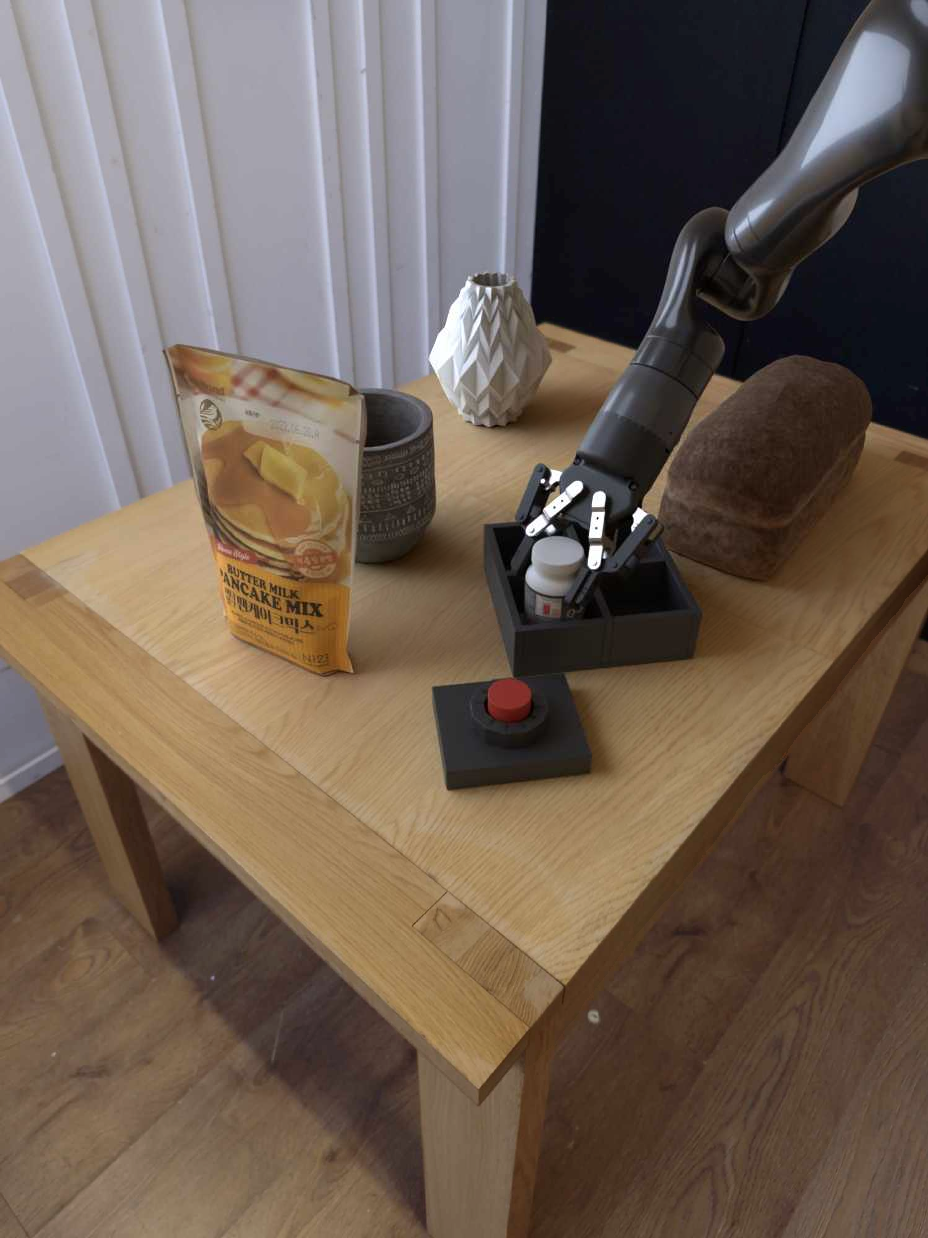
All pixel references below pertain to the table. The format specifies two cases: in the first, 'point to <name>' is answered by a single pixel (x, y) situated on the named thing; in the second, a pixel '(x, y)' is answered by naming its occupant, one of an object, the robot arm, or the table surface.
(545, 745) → the block
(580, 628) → the black divided tray
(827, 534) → the table surface
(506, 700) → the button
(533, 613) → the pill bottle
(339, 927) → the table surface
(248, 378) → the pancake mix bag
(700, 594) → the table surface
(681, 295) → the robot arm
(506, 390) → the vase
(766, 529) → the bread
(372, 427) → the planter
